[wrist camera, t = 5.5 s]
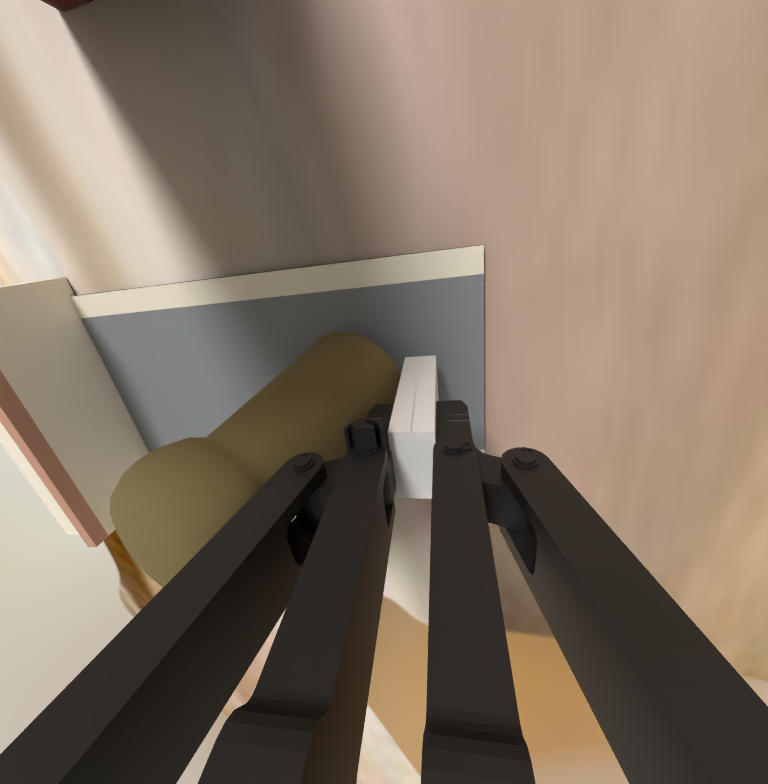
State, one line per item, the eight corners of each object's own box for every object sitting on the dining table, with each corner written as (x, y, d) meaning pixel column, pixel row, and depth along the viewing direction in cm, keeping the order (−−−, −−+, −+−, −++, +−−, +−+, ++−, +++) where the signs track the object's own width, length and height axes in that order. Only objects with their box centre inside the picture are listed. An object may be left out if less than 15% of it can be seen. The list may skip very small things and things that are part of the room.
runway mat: (484, 463, 21) (484, 466, 20) (161, 468, 25) (158, 470, 24) (482, 244, 15) (483, 245, 15) (74, 295, 19) (69, 296, 19)
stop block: (167, 479, 25) (96, 547, 20) (131, 479, 26) (54, 545, 20) (65, 277, 19) (-74, 299, 14) (21, 282, 19) (-128, 306, 14)
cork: (315, 422, 21) (128, 585, 12) (298, 325, 18) (36, 451, 9) (408, 448, 18) (253, 674, 10) (406, 339, 15) (183, 530, 7)
